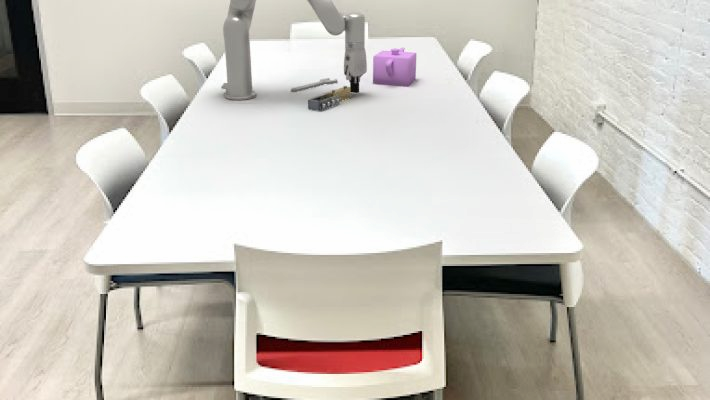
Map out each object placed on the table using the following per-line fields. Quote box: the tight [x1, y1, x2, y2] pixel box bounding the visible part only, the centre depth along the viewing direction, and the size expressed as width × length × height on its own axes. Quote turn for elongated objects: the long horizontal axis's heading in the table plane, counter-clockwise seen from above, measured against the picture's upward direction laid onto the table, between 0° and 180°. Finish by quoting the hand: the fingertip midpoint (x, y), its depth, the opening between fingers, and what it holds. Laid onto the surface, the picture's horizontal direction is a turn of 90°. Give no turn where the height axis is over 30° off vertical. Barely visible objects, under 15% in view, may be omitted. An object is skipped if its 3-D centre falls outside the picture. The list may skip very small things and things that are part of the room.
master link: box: [327, 85, 352, 102], centre depth 289 cm, size 2×12×5 cm, turn 147°
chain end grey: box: [318, 92, 341, 108], centre depth 284 cm, size 7×5×4 cm
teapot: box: [372, 47, 417, 87], centre depth 318 cm, size 15×25×14 cm, turn 162°
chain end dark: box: [307, 95, 331, 112], centre depth 280 cm, size 7×6×4 cm
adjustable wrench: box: [290, 77, 338, 93], centre depth 312 cm, size 25×6×2 cm, turn 134°
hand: (354, 92), depth 298 cm, fingers closed
